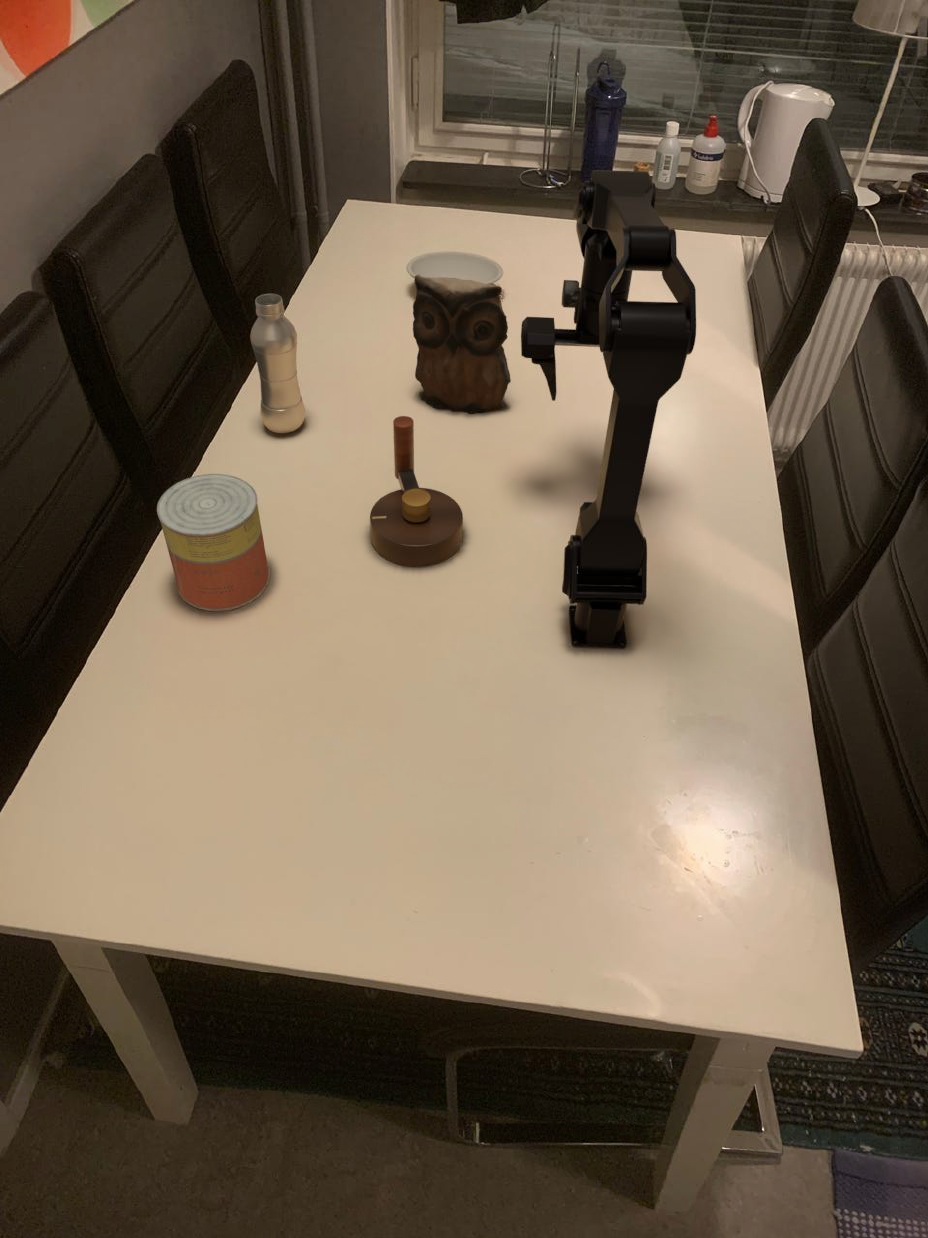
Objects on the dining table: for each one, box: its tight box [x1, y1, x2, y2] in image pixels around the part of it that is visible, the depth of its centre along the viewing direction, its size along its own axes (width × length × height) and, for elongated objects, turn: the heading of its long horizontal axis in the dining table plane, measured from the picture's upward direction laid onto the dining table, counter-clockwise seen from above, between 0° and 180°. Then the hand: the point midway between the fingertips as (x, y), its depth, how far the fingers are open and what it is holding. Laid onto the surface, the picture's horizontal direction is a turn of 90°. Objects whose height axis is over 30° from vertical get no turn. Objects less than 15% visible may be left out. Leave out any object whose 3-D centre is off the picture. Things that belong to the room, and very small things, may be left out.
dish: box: [405, 251, 504, 285], centre depth 167 cm, size 18×14×5 cm
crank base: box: [369, 487, 464, 568], centre depth 119 cm, size 12×12×4 cm
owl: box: [412, 275, 512, 415], centre depth 137 cm, size 13×13×20 cm
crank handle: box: [392, 415, 431, 522], centre depth 117 cm, size 11×4×9 cm, turn 14°
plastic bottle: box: [249, 293, 306, 434], centre depth 130 cm, size 6×7×20 cm
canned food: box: [156, 473, 271, 612], centre depth 109 cm, size 11×11×12 cm
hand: (588, 400), depth 118 cm, fingers open, 9 cm apart
